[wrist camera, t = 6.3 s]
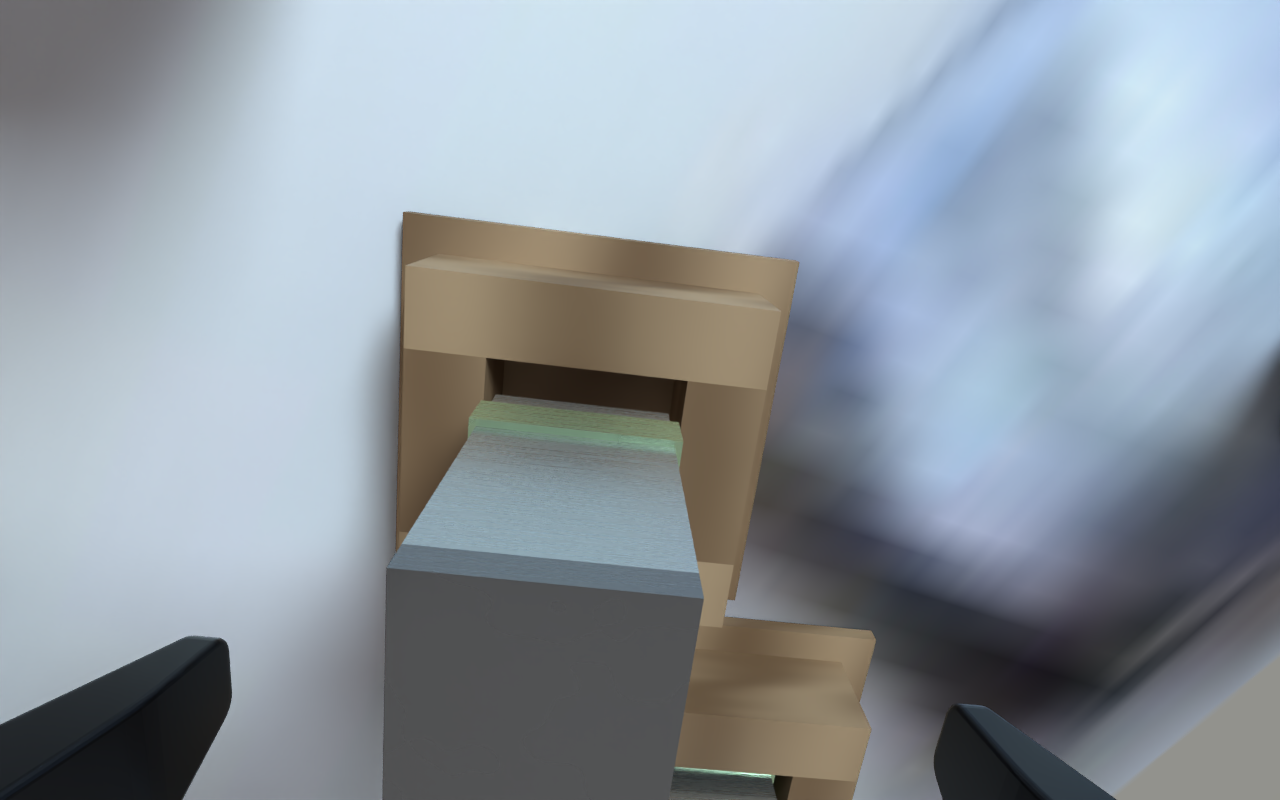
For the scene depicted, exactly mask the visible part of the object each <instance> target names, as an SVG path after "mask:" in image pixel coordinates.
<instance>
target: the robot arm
mask: <svg viewBox="0 0 1280 800" xmlns="http://www.w3.org/2000/svg"><path fill="white" fill-rule="evenodd" d="M231 698H232V687H231V672H230V658H229V648H228V645H227V643H226V641H225V640H223V639H221V638H215V637H204V636H188V637H185V638H182V639H180V640H178V641H176V642H174V643H172V644H170V645H168V646H165V647H163V648H161V649H159V650H157V651H155V652H153V653H151V654H149V655H146V656H144V657H142V658H140V659H138V660H136V661H134V662H132V663H130V664H127V665H125V666H123V667H121V668H119V669H117V670H115V671H113V672H111V673H108V674H106V675H104V676H102V677H100V678H98V679H96V680H94V681H91V682H89V683H87V684H85V685H83V686H81V687H79V688H77V689H75V690H72V691H70V692H68V693H66V694H64V695H62V696H60V697H58V698H56V699H53V700H51V701H49V702H47V703H45V704H43V705H41V706H39V707H37V708H34V709H32V710H30V711H28V712H26V713H24V714H22V715H20V716H17V717H15V718H13V719H11V720H9V721H7V722H5V723H3V724H1V725H0V800H183V798H184V796H185V794H186V792H187V790H188V788H189V786H190V784H191V783H192V781H193V779H194V777H195V775H196V773H197V771H198V769H199V767H200V765H201V763H202V762H203V760H204V758H205V756H206V754H207V752H208V750H209V748H210V746H211V744H212V743H213V741H214V739H215V737H216V735H217V733H218V731H219V729H220V727H221V725H222V724H223V722H224V720H225V718H226V716H227V713H228V711H229V708H230V704H231ZM934 770H935V775H936V779H937V782H938V785H939V789H940V792H941V795H942V798H943V800H1116V799H1115V798H1113V797H1112V796H1111V795H1109V794H1108V793H1106V792H1105V791H1104V790H1102V789H1101V788H1100V787H1098V786H1097V785H1095V784H1094V783H1093V782H1091V781H1090V780H1088V779H1087V778H1086V777H1084V776H1083V775H1081V774H1080V773H1079V772H1077V771H1076V770H1074V769H1073V768H1072V767H1070V766H1069V765H1067V764H1066V763H1065V762H1063V761H1062V760H1060V759H1059V758H1058V757H1056V756H1055V755H1053V754H1052V753H1051V752H1049V751H1048V750H1046V749H1045V748H1044V747H1042V746H1041V745H1039V744H1038V743H1037V742H1035V741H1034V740H1032V739H1031V738H1030V737H1028V736H1027V735H1025V734H1024V733H1023V732H1021V731H1020V730H1018V729H1017V728H1016V727H1014V726H1013V725H1011V724H1010V723H1009V722H1007V721H1006V720H1005V719H1003V718H1002V717H1000V716H999V715H998V714H996V713H995V712H993V711H992V710H991V709H989V708H987V707H985V706H980V705H970V704H954V705H952V706H951V707H950V708H949V709H948V712H947V714H946V718H945V721H944V724H943V727H942V731H941V734H940V737H939V740H938V743H937V747H936V750H935V754H934Z"/></svg>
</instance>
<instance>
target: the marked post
mask: <svg viewBox="0 0 1280 800" xmlns="http://www.w3.org/2000/svg"><path fill="white" fill-rule="evenodd" d="M682 447H683V438H682V434H681V430H680V425H679V422H672V421H670V420H669V415H668V413H659V412H650V411H641V410H632V409H623V408H614V407H605V406H596V405H588V404H579V403H570V402H561V401H552V400H543V399H534V398H525V397H516V396H508V395H499V394H496V395H495V397H494V398H493V400H492V401H484V400H481V401H480V402H479V404H478V405H477V407H476V408H475V410H474V411H473V413H472V414H471V416H470V417H469V423H468V439H467V441H466V443H465V444H464V446H463V447H462V449H461V451H460V452H459V454H458V455H457V457H456V458H455V460H454V462H453V463H452V465H451V466H450V468H449V470H448V471H447V473H446V474H445V476H444V478H443V479H442V481H441V482H440V484H439V485H438V487H437V489H436V490H435V492H434V493H433V495H432V497H431V498H430V500H429V501H428V503H427V504H426V506H425V508H424V509H423V511H422V512H421V514H420V516H419V517H418V519H417V520H416V522H415V524H414V525H413V527H412V528H411V530H410V531H409V533H408V535H407V536H406V538H405V539H404V541H403V543H402V544H401V546H400V547H399V549H398V550H397V552H396V554H395V555H394V557H393V558H392V560H391V562H390V563H389V565H388V566H387V573H386V629H385V686H384V743H383V799H382V800H669V795H670V790H671V784H672V778H673V773H674V767H675V761H676V755H677V750H678V744H679V738H680V733H681V727H682V721H683V716H684V710H685V704H686V699H687V693H688V687H689V681H690V676H691V670H692V664H693V659H694V653H695V647H696V642H697V636H698V630H699V625H700V619H701V613H702V607H703V602H704V596H703V591H702V585H701V580H700V575H699V570H698V565H697V560H696V554H695V549H694V544H693V539H692V534H691V529H690V523H689V518H688V513H687V508H686V503H685V497H684V492H683V487H682V482H681V477H680V472H679V467H680V460H681V454H682Z"/></svg>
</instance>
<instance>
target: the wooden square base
mask: <svg viewBox="0 0 1280 800" xmlns="http://www.w3.org/2000/svg"><path fill="white" fill-rule="evenodd" d="M875 642H876V639H875V637H874V635H873V633H872V632H871V631H868V630H858V629H847V628H837V627H826V626H816V625H806V624H795V623H785V622H774V621H764V620H753V619H743V618H732V617H724V621H723V626H722V628H720V627H710V626H699V630H698V636H697V642H696V647H695V653H694V659H693V664H692V670H691V676H690V681H689V687H688V693H687V699H686V704H685V710H684V716H683V721H682V727H681V733H680V738H679V744H678V750H677V755H676V761H675V767H684V768H696V769H708V770H720V771H732V772H744V773H756V774H769V775H775V778H774V783H773V786H774V790H775V794H776V798H777V800H852V798H853V794H854V791H855V787H856V783H857V780H858V776H859V773H860V769H861V765H862V762H863V758H864V754H865V751H866V747H867V744H868V740H869V736H870V733H871V727H870V725H869V722H868V720H867V718H866V716H865V714H864V712H863V709H862V707H861V705H860V703H859V702H860V699H861V695H862V691H863V687H864V684H865V680H866V676H867V672H868V669H869V665H870V661H871V657H872V654H873V650H874V646H875Z"/></svg>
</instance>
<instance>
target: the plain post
mask: <svg viewBox="0 0 1280 800" xmlns="http://www.w3.org/2000/svg"><path fill="white" fill-rule="evenodd" d="M774 778H775V775H769V774H756V773H744V772H732V771H720V770H708V769H696V768H684V767H674V773H673V778H672V784H671V790H670V795H669V800H777V798H776V794H775V790H774V786H773V783H774Z"/></svg>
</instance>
